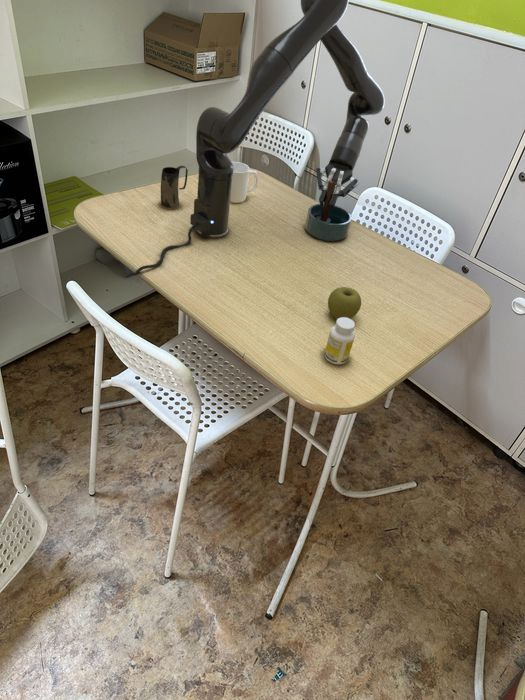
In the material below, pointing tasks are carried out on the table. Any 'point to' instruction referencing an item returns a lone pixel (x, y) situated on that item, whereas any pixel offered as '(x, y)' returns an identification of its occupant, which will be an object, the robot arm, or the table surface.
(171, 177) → the mug
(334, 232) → the bowl
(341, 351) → the supplement bottle
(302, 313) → the table surface
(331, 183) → the brown rod with base
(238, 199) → the cup
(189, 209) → the table surface
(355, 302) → the apple
